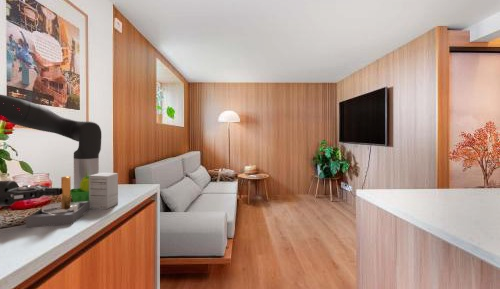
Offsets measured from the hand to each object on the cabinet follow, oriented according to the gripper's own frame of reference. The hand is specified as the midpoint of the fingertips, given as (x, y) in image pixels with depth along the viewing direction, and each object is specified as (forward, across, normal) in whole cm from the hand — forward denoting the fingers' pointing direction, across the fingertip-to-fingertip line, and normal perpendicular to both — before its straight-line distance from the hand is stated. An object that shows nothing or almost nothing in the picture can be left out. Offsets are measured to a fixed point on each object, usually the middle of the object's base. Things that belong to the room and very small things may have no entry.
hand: (60, 191), depth 79 cm
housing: (-1, +4, +10) cm, 10 cm away
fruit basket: (0, +23, +10) cm, 25 cm away
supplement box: (+9, +15, +10) cm, 20 cm away
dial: (-1, +4, +8) cm, 9 cm away
